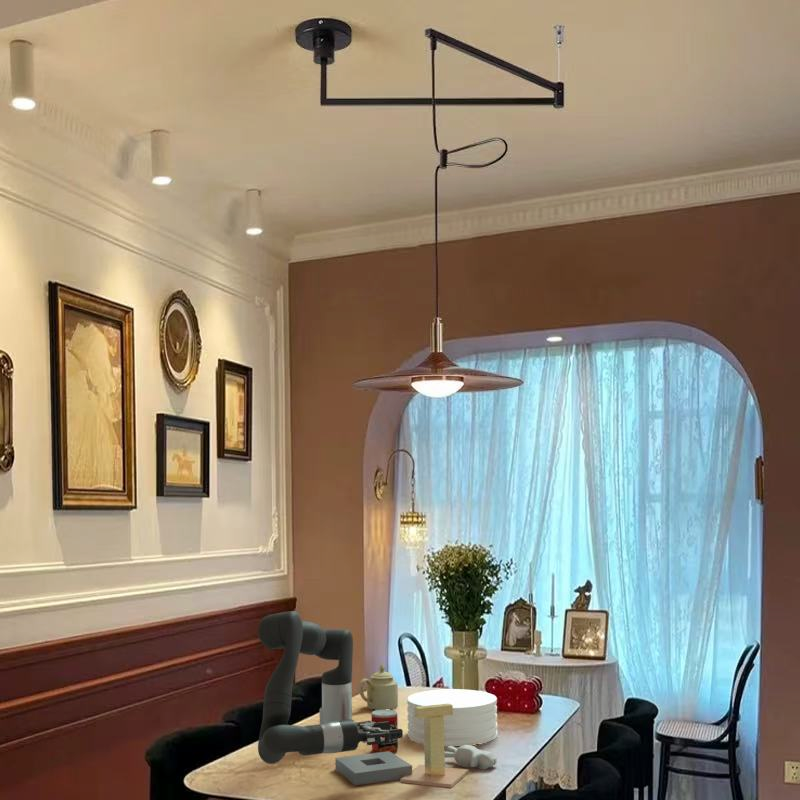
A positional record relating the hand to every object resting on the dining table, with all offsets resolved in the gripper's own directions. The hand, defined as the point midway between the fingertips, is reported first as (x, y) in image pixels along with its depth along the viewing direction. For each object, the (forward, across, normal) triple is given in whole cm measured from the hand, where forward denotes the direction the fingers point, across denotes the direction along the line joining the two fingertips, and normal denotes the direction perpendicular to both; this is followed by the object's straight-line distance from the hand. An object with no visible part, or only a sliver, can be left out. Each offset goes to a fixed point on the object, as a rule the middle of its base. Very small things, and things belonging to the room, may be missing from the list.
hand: (395, 729), depth 242 cm
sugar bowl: (+29, +84, +15) cm, 90 cm away
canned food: (+9, +30, +14) cm, 34 cm away
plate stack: (+35, +38, +14) cm, 53 cm away
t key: (+11, 0, +13) cm, 17 cm away
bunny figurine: (+24, +6, +14) cm, 28 cm away
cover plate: (-3, +10, +14) cm, 17 cm away
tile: (+11, 0, +14) cm, 17 cm away
